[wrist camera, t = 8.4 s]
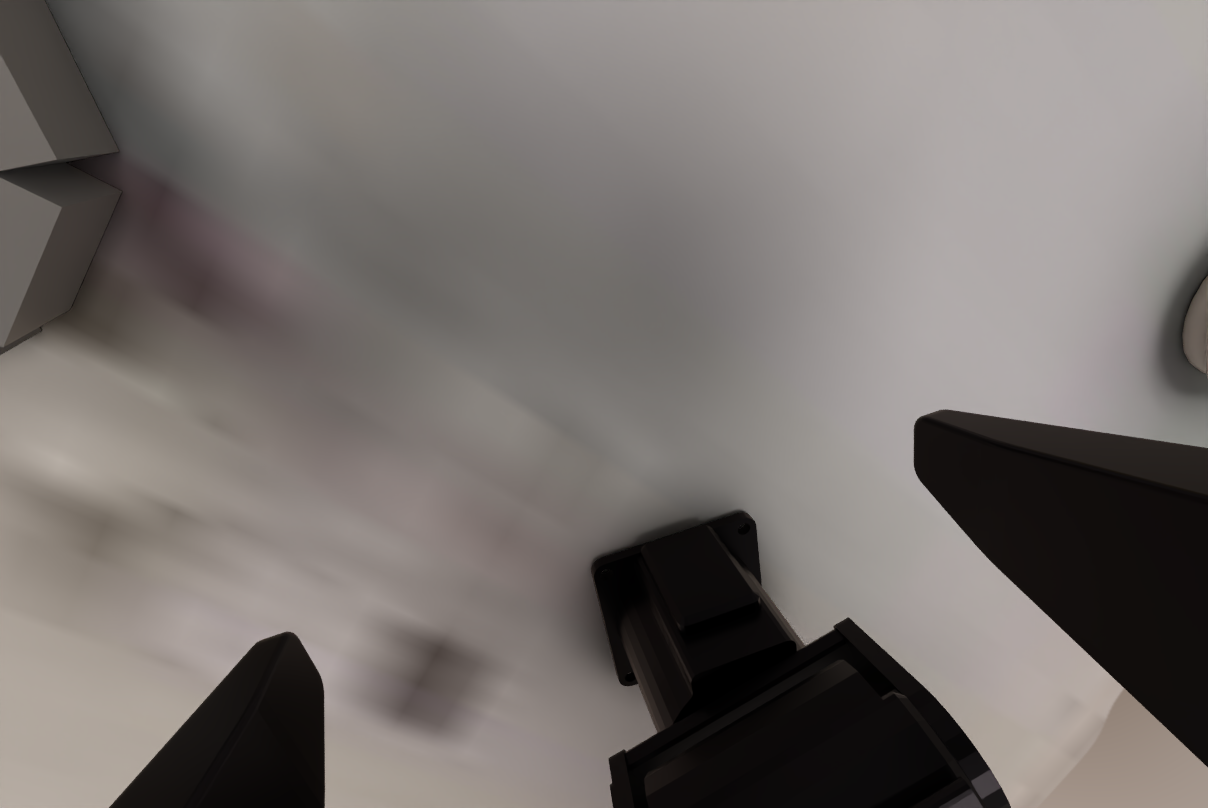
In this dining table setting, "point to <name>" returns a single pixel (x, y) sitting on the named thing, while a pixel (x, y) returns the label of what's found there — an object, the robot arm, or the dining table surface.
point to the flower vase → (1197, 329)
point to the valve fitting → (45, 173)
